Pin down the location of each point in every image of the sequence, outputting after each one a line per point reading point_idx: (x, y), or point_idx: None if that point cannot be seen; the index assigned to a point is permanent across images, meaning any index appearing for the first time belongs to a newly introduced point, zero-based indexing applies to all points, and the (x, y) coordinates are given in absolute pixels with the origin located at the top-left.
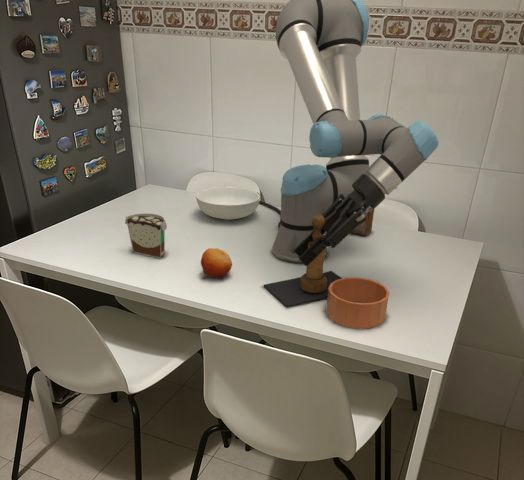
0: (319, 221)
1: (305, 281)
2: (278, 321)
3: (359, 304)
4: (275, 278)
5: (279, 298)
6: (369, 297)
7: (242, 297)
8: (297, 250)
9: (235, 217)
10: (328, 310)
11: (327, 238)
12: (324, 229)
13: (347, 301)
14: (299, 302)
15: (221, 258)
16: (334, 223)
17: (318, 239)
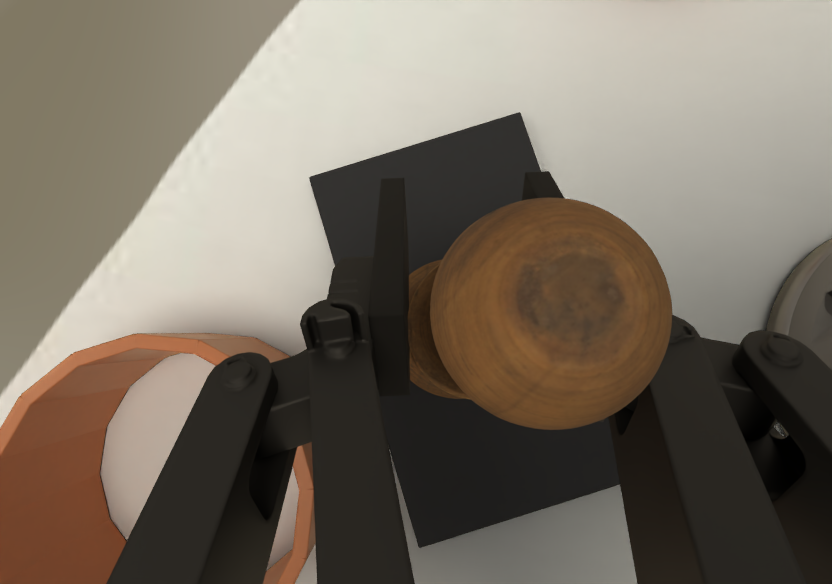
0: (433, 300)
1: (421, 273)
2: (209, 128)
3: None
4: (600, 184)
5: (376, 157)
6: (277, 570)
7: (428, 18)
8: (529, 195)
9: None
10: (197, 333)
11: (237, 372)
12: (628, 440)
13: (28, 398)
14: (327, 235)
15: None
16: (400, 569)
17: (383, 305)
